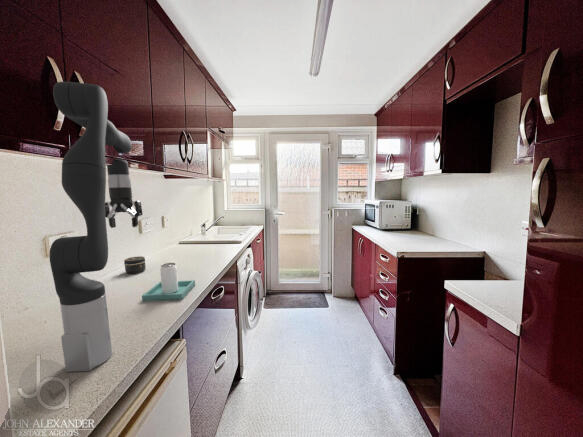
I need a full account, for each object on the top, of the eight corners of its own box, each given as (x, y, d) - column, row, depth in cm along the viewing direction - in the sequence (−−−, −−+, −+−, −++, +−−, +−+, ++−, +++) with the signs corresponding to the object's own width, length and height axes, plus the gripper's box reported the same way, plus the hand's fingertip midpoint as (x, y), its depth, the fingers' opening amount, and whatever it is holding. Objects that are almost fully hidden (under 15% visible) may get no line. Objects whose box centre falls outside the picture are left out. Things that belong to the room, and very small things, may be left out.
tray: (182, 299, 107) (181, 294, 107) (142, 301, 106) (141, 295, 106) (195, 285, 123) (194, 280, 123) (160, 286, 122) (160, 281, 122)
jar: (134, 275, 140) (132, 261, 139) (120, 273, 144) (119, 260, 143) (150, 269, 149) (148, 256, 148) (137, 268, 153) (136, 255, 152)
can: (172, 294, 111) (170, 267, 109) (158, 294, 112) (156, 266, 110) (181, 288, 117) (179, 262, 116) (168, 288, 118) (165, 262, 117)
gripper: (94, 187, 100) (99, 229, 102) (132, 186, 100) (137, 228, 102) (107, 187, 107) (112, 226, 109) (143, 186, 108) (146, 225, 110)
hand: (124, 227), depth 106 cm, fingers open, 8 cm apart
